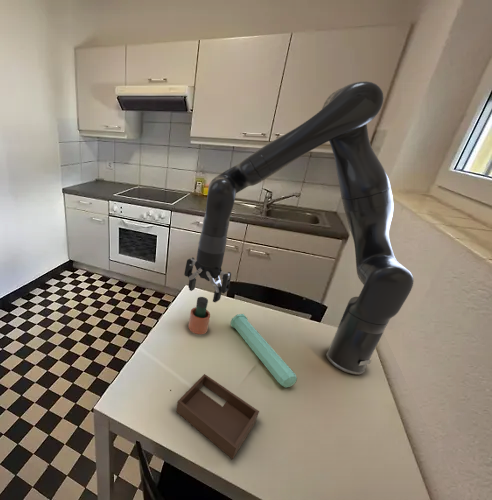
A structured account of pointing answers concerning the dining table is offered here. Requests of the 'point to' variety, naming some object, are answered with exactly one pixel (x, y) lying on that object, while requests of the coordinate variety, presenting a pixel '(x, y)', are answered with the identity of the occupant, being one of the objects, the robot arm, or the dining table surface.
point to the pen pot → (198, 322)
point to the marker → (201, 307)
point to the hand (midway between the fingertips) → (203, 295)
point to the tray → (218, 415)
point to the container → (264, 351)
